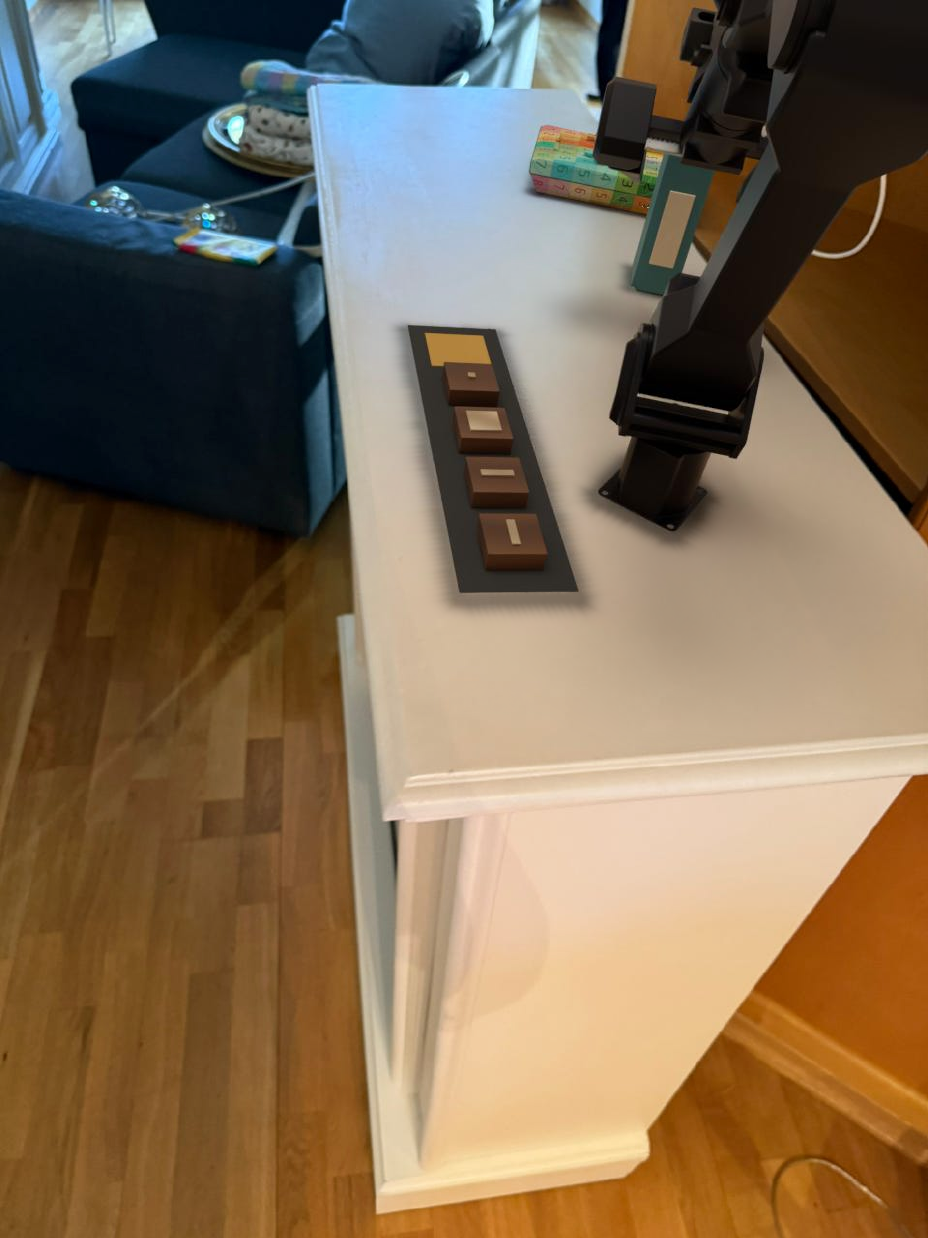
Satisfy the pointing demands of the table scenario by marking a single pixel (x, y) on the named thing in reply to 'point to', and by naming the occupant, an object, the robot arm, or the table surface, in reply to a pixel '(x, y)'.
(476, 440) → the tile
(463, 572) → the word mat
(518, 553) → the tile
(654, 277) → the teal tall rectangular block
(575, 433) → the table surface
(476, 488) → the tile
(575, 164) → the puzzle game
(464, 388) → the tile
